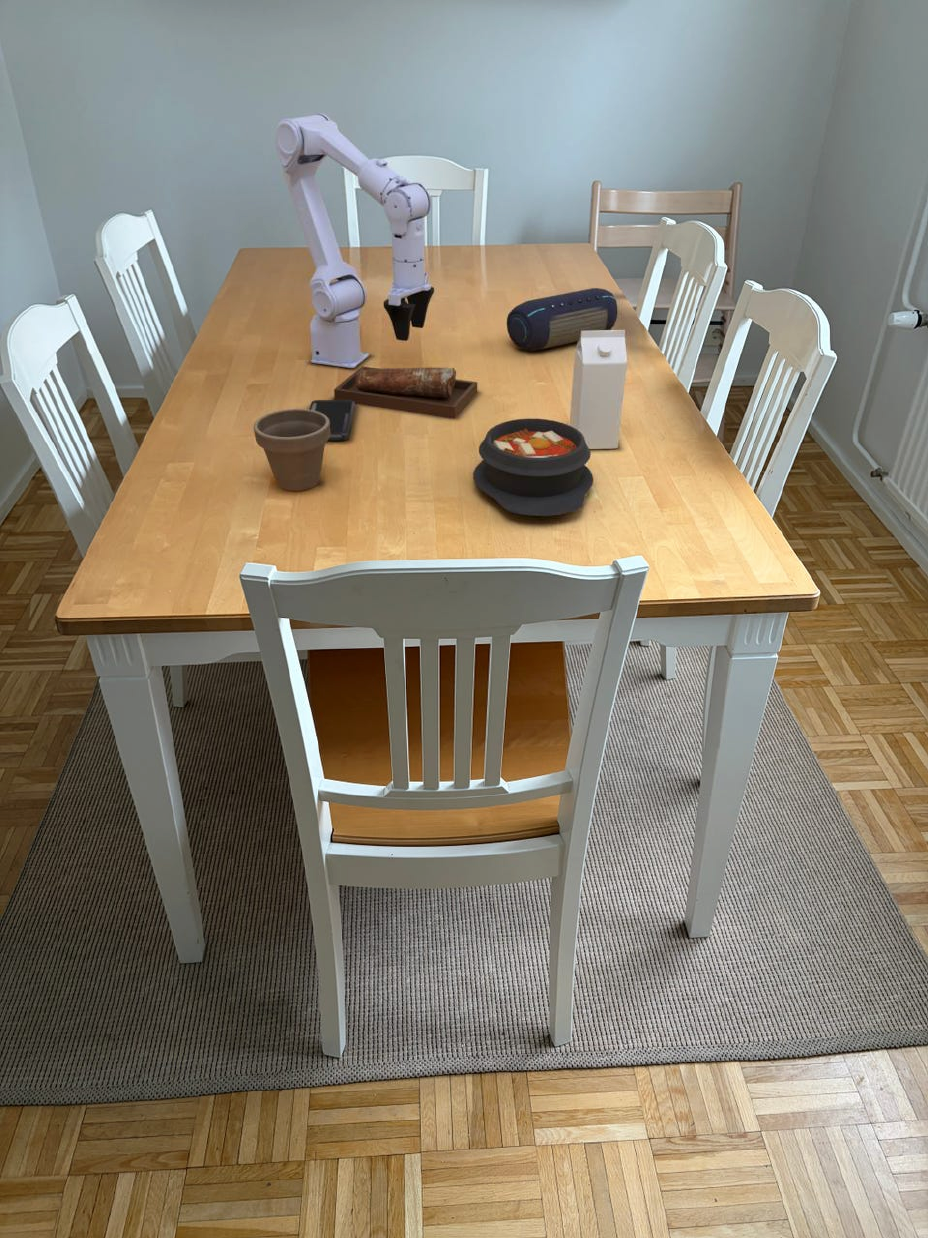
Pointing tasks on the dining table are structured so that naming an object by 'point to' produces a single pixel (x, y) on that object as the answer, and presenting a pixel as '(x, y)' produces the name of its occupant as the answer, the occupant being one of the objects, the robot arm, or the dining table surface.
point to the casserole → (535, 467)
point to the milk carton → (599, 387)
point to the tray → (409, 398)
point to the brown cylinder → (408, 381)
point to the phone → (336, 416)
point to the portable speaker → (561, 318)
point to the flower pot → (294, 446)
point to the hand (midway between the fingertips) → (410, 333)
